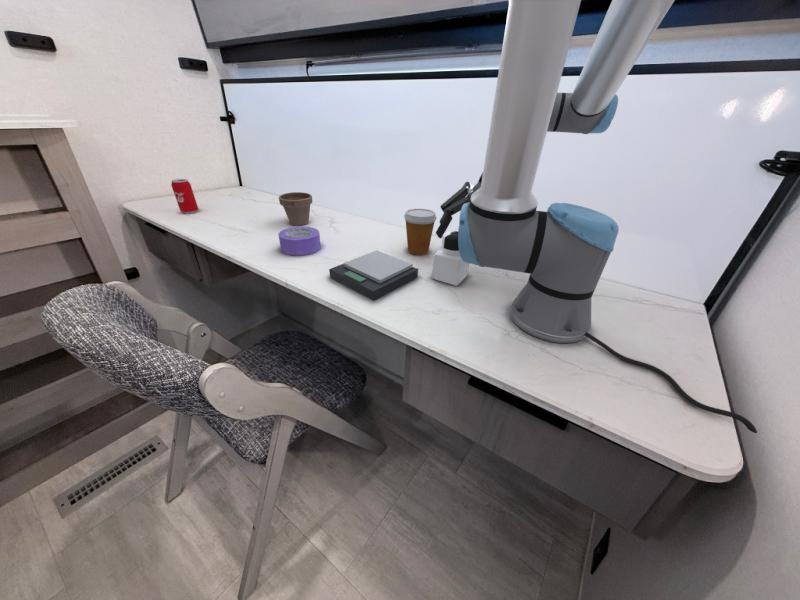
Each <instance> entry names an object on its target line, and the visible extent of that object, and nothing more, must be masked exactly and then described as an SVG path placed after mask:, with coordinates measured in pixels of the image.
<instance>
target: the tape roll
mask: <svg viewBox="0 0 800 600" xmlns="http://www.w3.org/2000/svg"><path fill="white" fill-rule="evenodd" d="M277 236H278V239H279V246H280V250H281V251H280V252H282V253H284V254H286V255H288V256H307V255H312V254H315V253H316V252H318V251H320V250H321V247H322V246H321V236H320V230H318V229H317V228H315V227H311V226H305V225H301V226H291V227H286V228H283V229H281V230H280V231H279V232H278V235H277Z"/></svg>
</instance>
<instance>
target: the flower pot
mask: <svg viewBox="0 0 800 600" xmlns="http://www.w3.org/2000/svg"><path fill="white" fill-rule="evenodd" d="M278 202H279V205H280V206H281V207H283V210H284V212H285V214H286V216H287V219H288V222H289V224H290V225H291V226H294V227H299V226H305V225H307V224H309V222H310V211H311V204H313V195H312V194H311V193H307V192H301V191H300V192H299V191H296V192H295V191H293V192H286V193H282V194H280V195H279V196H278Z"/></svg>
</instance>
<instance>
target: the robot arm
mask: <svg viewBox="0 0 800 600" xmlns="http://www.w3.org/2000/svg"><path fill="white" fill-rule="evenodd" d="M675 1H676V0H611V2H610V5H609V7H608V9H607V11H606V14H605V15H604V18H603V21H602V23H601V25H600V28H599V30H598V33H597V34H596V37H595V40H594V41H593V44H592V47H591V49H590V51H589V54H588V56H587V58H586V61H585V63H584V65H583V67H582V70H581V72H580V74H579V77H578V80H576V81H577V82H576V83H575V86H574V88H573V91H572V92H558V90H559V86H560V84H561V80H562V75H563V72H564V68H565V64H566V60H567V56H568V54H569V53H568V52H569V48H570V44H571V41H572V36H573V33H574V29H575V25H576V22H577V17H578V14H579V10H580V6H581V2H582V0H508V9H507V15H506V22H505V23H506V24H505V29H504V35H503V40H502V42H503V43H502V47H501V48H502V49H501V54H500V59H499V67H498V74H497V78H496V79H497V80H496V85H495V93H494V99H493V106H492V112H491V118H490V120H491V121H490V126H489V132H488V138H487V145H486V150H485V151H486V152H485V157H484V165H483V171H482V173H481V174H480V176H479V178H478V181H477V182H476V184H470V181H465V182H464V184H463V186H462V187H461V188H460V189H458V190H457V191H456V192H455V193H454V194H453V195H451V196H450V197H449V198H448V199H447V200H445V201H444V202H443V203H442V204H441V205H440V209H441V211H442V212H443V214H442V215H441V217H440V220H439V226H438V227H437V229H436V231H435V234H436V236H437V237H438V238H439V239H442V237H443V234H444V233H446V232H447V229H448V227H449V226H450V224H451V222H452V221H453V218H454V217H453V216H454V215H455V214H457V213H459V220H458V221H459V223H458V228H457V229H458V230H457V231H458V247H459V254H460V257H461V258H462V260H463V261H464V262H466V263H469V265H474V266H479V267H480V268H492V269H497V270H505V271H509V272H510V271H512V272H516V273H517V272H518V273H524V274H529V278H528V280H527V282H526V284H525V285H524V286H523V287H522V289H521V291H520V292H519V293H518V294H517V296H516V298H514V300H513V301H512V304H511V308H510V311H509V313H510V318H511V320H512V321H513V323H514V324H515V325H516V327H518V328H520V329H521V330H522V331H524V332H525V333H527V334H529V335H530V336H533V337H535V338H538V339H540V340H544V341H547V342H552V343H558V344H572V343H574V344H575V343H578V342H581V341H582V340H584V339H585V338H587V339H589V340H591V341H593V342H594V343H596V344H597V345H599V346H600V347H601V348H602V349H604V350H606V351H607V352H608V353H609V354H611V355H613V356H614V357H616V358H618V359H619V360H621V361H624V362H625V363H629V364H633V365H635V366H639V367H642V368H645V369H648V370H650V371H653V372H655V373H656V374H658V375H659V376H661V377H662V378H664V379H665V380H666V381H667V382H668V383H669V384H670V385H671V387H673V389H674V390H675V391H676V393H678V394H679V396H681V397H682V398H683V399H684V400H685V401H686V402H688V403H690V404H691V405H693V406H694V407H696V408H698V409H701V410H703V411H706V412H709V413H713V414H716V415H720V416H724V417H728V418H731V419H734V420H737V421H739V422H740V423H742V424H743V425H744V426H745V427H746V428H747V430H749V432H751V433H753V434H758V431H757V430H758V429H757V428H756V427H755V426H754V424H753V423H752V422H751V421H750V420H749V419H748V418H746V417H745V416H744V415H743V416H742V415H741V414H739V413H738V414H737V413H736V412H733V411H730V410H725V409H722V408H721V409H720V408H717V407H713V406H710V405H706V404H703V403H701V402H700V401H697V400H696V399H695V398H693V397H692V396H690V395H689V394H687V392H686V391H684V390H683V388H682V387H681V386H680V385H679V384H678V382H677V381H676V380H675V379H674V378H673V377H672V376H671V375H669V374H668V373H667V372H665V371H664V370H662V369H660V368H659V367H657V366H655V365H652V364H649V363H646V362H643V361H639V360H636V359H633V358H630V357H627V356H625V355H622V354H621V353H619V352H617V351H616V350H615V349H613V348H612V347H610V346H609V345H607V344H606V343H605V342H603V341H602V340H600V339H599V338H597V337H595V336H594V335H592V334H591V333H589V332H590V329H591V327H592V298H593V295H594V293H595V290H596V288H597V286H598V283H599V281H600V279H601V276H602V274H603V272H604V269H605V267H606V266H607V265H606V264H607V263H608V260H609V257H610V256H611V254H612V252H614V249H615V248H614V246H615V244H616V241H617V237H618V234H619V229H620V228H619V225H618V222H617V221H616V220H615V219H613V218H612V217H610V216H609V215H607V214H605V213H602V212H600V211H598V210H595V209H592V208H588V207H585V206H581V205H579V204H573V203H568V202H567V203H566V202H553V203H551V204H550V205H549V207H547V211H543V210H537V208H538V206H539V205H538V203H539V201H538V199H537V198H536V196H535V195H534V194H533V187H534V183H535V179H536V176H537V172H538V168H539V165H540V160H541V156H542V152H543V149H544V145H545V141H546V137H547V133H548V132H550V133H551V132H552V133H570V134H583V135H590V134H602V133H605V132H606V131H607V130H608V129H609V127H610V126H611V124H612V121H613V120H614V117H615V116H616V112H617V109H618V104H619V96H618V95H617V92H618V91H619V89H620V88H621V86H622V85H623V83H624V81H625V80H626V78H627V77H628V75H629V73H630V72H631V70H632V69H633V67H634V65H635V64H636V63H637V61H638V59H639V57H640V56H641V54H642V53H643V51H644V50H645V48H646V47H647V45H648V43H649V42H650V40H651V39H652V37H653V35H654V34H655V32H656V30H657V29H658V28H659V26H660V25H661V23H662V21H663V19H664V18H665V16H666V15H667V14H668V11H669V10H670V9H671V7H672V5H673V4H674V2H675Z"/></svg>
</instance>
